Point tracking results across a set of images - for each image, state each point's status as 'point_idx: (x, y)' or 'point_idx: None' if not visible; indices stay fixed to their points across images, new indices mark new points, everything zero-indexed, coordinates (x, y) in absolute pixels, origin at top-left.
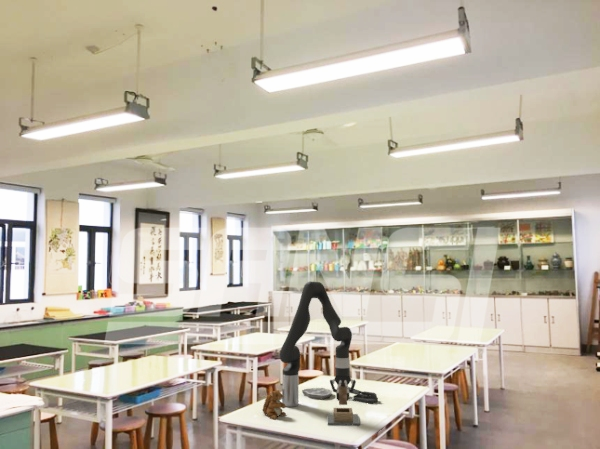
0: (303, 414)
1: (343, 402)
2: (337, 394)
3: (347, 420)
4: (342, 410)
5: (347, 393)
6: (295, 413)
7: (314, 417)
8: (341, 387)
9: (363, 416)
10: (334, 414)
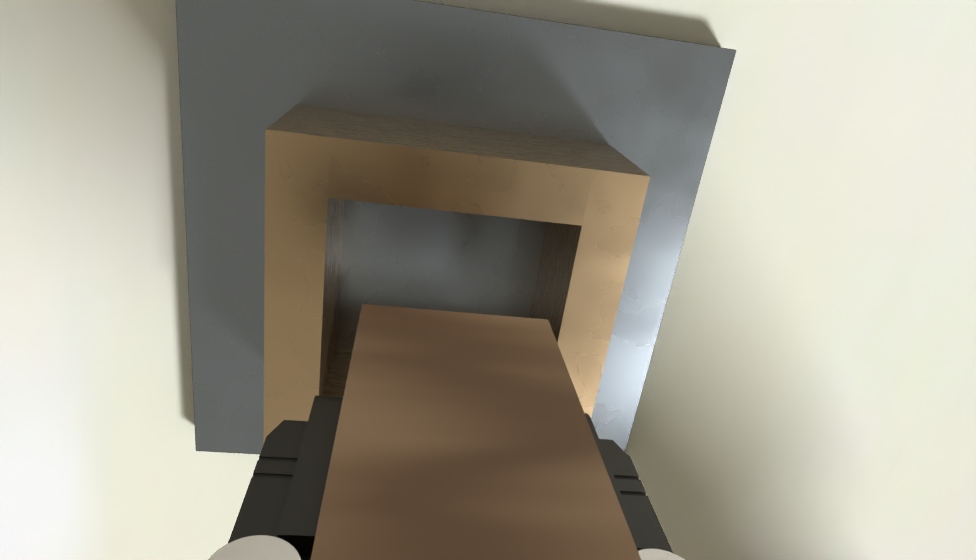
0: (873, 509)
1: (452, 336)
2: (635, 537)
3: (392, 119)
4: None
5: (299, 538)
6: (944, 541)
7: (789, 402)
8: None
9: (116, 415)
10: (633, 169)
